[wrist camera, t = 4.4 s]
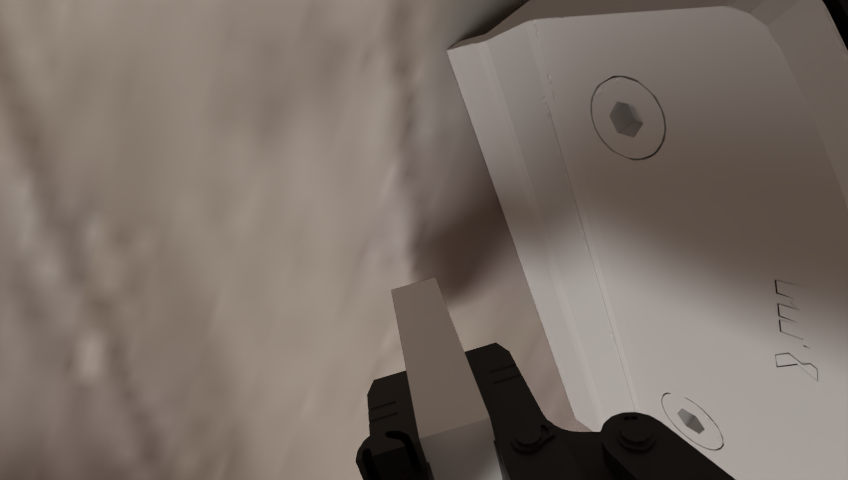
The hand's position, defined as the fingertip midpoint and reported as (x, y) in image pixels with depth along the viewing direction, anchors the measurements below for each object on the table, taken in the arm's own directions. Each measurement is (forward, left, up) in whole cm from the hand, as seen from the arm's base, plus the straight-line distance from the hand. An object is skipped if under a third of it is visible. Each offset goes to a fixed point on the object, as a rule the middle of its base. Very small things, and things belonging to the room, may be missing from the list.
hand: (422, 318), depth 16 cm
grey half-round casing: (-1, +8, -2) cm, 8 cm away
